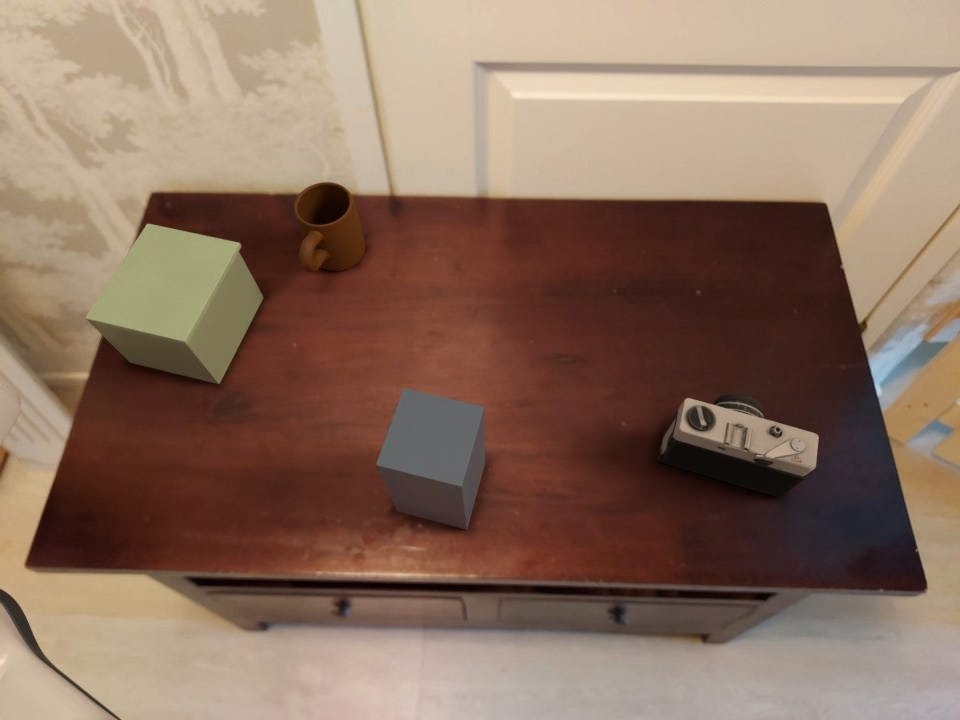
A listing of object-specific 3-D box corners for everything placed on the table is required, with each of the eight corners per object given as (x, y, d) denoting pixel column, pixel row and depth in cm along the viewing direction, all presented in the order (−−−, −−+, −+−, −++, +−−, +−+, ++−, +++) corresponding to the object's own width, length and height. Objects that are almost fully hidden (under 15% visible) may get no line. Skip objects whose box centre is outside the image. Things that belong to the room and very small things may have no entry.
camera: (795, 441, 75) (834, 407, 66) (775, 513, 71) (813, 487, 62) (678, 394, 78) (700, 356, 69) (652, 460, 74) (672, 429, 65)
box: (179, 278, 87) (146, 231, 79) (263, 297, 86) (239, 251, 77) (130, 362, 81) (88, 321, 73) (219, 384, 80) (187, 345, 71)
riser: (467, 530, 71) (461, 486, 57) (396, 511, 72) (375, 464, 59) (485, 461, 74) (484, 406, 61) (418, 445, 75) (403, 387, 62)
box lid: (149, 226, 79) (147, 223, 79) (241, 246, 78) (239, 242, 77) (88, 321, 73) (84, 318, 72) (187, 344, 71) (184, 341, 70)
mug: (345, 305, 85) (330, 260, 77) (290, 294, 86) (269, 249, 78) (373, 234, 90) (361, 185, 82) (321, 225, 91) (305, 176, 83)
